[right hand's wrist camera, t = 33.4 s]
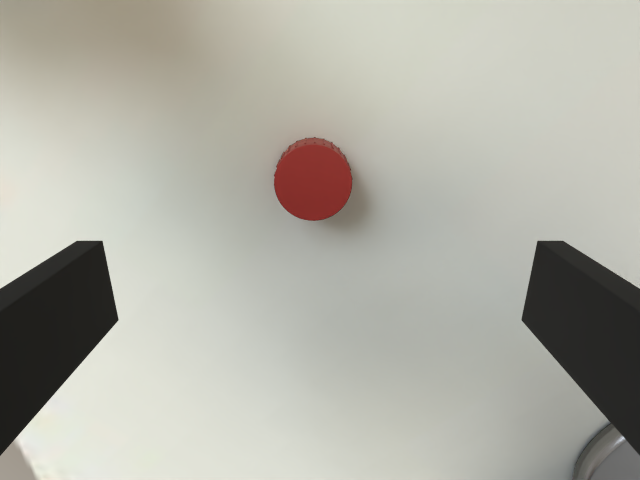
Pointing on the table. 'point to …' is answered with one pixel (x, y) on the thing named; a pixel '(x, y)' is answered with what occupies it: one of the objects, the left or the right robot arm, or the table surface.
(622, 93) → the table surface
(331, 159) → the cap
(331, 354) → the table surface
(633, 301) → the right robot arm
